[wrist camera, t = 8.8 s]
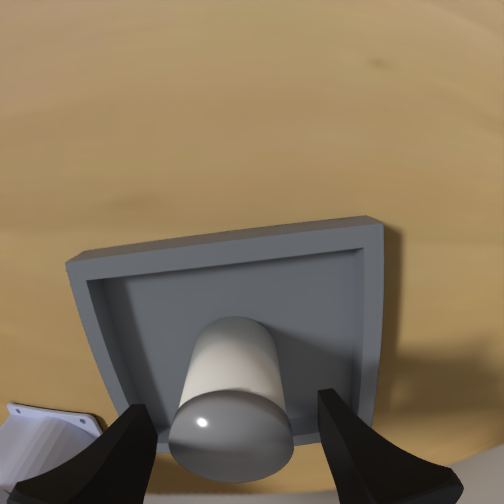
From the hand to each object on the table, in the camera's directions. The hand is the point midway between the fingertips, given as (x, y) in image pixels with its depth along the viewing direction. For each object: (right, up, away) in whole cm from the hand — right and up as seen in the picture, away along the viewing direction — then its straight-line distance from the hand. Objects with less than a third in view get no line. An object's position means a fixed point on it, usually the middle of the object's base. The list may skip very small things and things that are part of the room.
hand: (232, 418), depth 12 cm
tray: (0, +1, +6) cm, 6 cm away
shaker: (0, +1, +5) cm, 5 cm away
